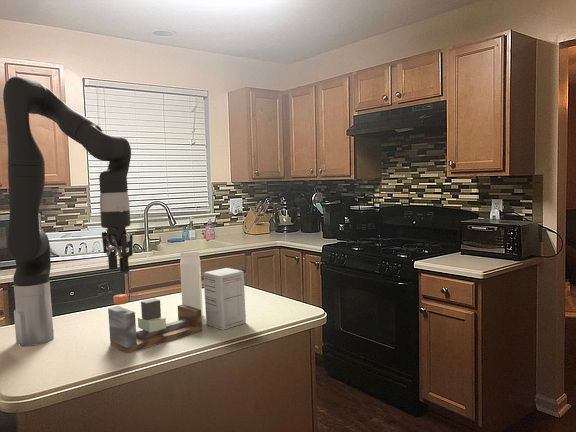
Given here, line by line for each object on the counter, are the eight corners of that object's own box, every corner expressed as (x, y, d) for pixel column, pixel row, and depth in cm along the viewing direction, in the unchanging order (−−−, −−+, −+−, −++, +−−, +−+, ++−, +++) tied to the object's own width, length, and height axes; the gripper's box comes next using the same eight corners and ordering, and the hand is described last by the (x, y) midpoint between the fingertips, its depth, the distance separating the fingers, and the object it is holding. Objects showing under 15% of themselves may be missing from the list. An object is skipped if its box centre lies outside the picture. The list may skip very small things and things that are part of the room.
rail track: (126, 353, 126) (124, 314, 125) (110, 344, 133) (108, 308, 132) (202, 330, 143) (200, 296, 142) (184, 324, 150) (182, 291, 149)
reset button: (117, 305, 127) (116, 298, 127) (111, 303, 129) (111, 296, 129) (130, 302, 129) (129, 295, 129) (124, 300, 132) (123, 293, 132)
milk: (185, 316, 159) (181, 251, 158) (203, 314, 160) (199, 250, 158) (182, 321, 153) (179, 254, 152) (201, 319, 154) (198, 253, 152)
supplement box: (229, 317, 155) (227, 267, 154) (247, 323, 149) (244, 270, 147) (205, 324, 149) (202, 271, 148) (222, 330, 142) (219, 275, 141)
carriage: (150, 332, 132) (148, 304, 131) (138, 327, 137) (136, 300, 136) (166, 328, 136) (164, 300, 135) (153, 323, 141) (152, 297, 140)
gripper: (90, 209, 130) (94, 269, 131) (113, 211, 120) (117, 276, 121) (116, 208, 135) (120, 265, 137) (140, 209, 125) (144, 271, 126)
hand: (118, 270), depth 129 cm, fingers open, 6 cm apart
